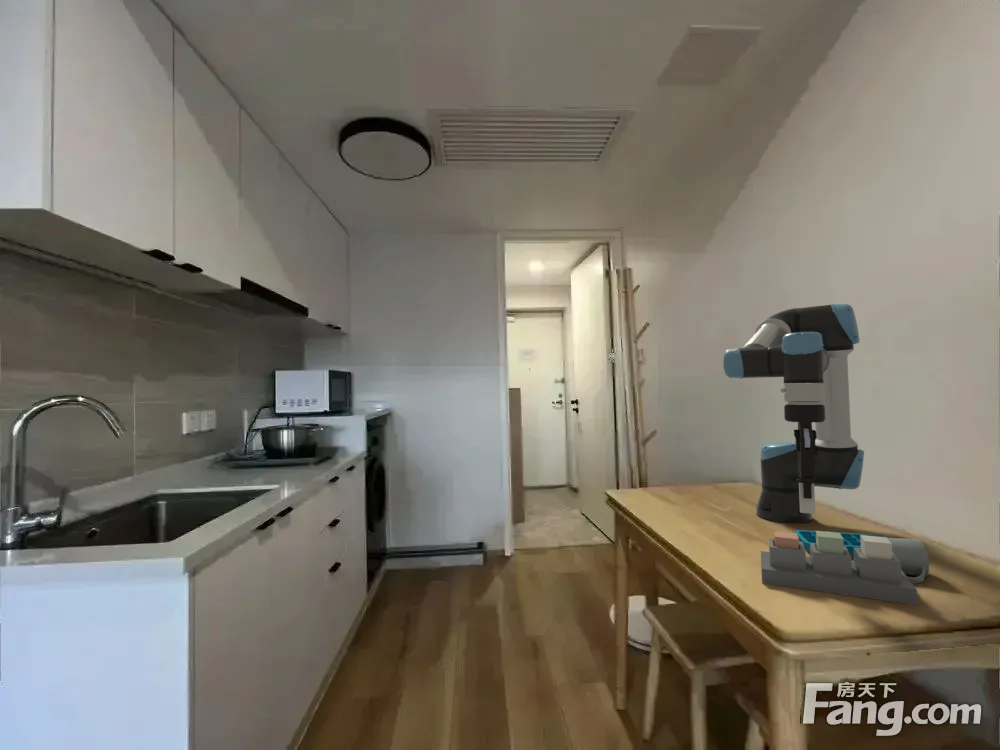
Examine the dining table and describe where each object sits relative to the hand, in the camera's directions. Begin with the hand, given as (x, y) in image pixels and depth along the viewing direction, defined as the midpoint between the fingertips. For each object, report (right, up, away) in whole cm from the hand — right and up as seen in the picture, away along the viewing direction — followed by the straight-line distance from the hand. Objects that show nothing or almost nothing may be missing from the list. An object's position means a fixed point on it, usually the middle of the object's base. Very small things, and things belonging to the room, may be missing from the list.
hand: (807, 512), depth 106 cm
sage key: (+4, -9, -2) cm, 10 cm away
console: (+4, -14, -2) cm, 15 cm away
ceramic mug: (+22, -14, +1) cm, 26 cm away
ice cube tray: (+21, -15, +18) cm, 31 cm away
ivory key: (+11, -9, -5) cm, 15 cm away
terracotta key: (-3, -10, +2) cm, 11 cm away
